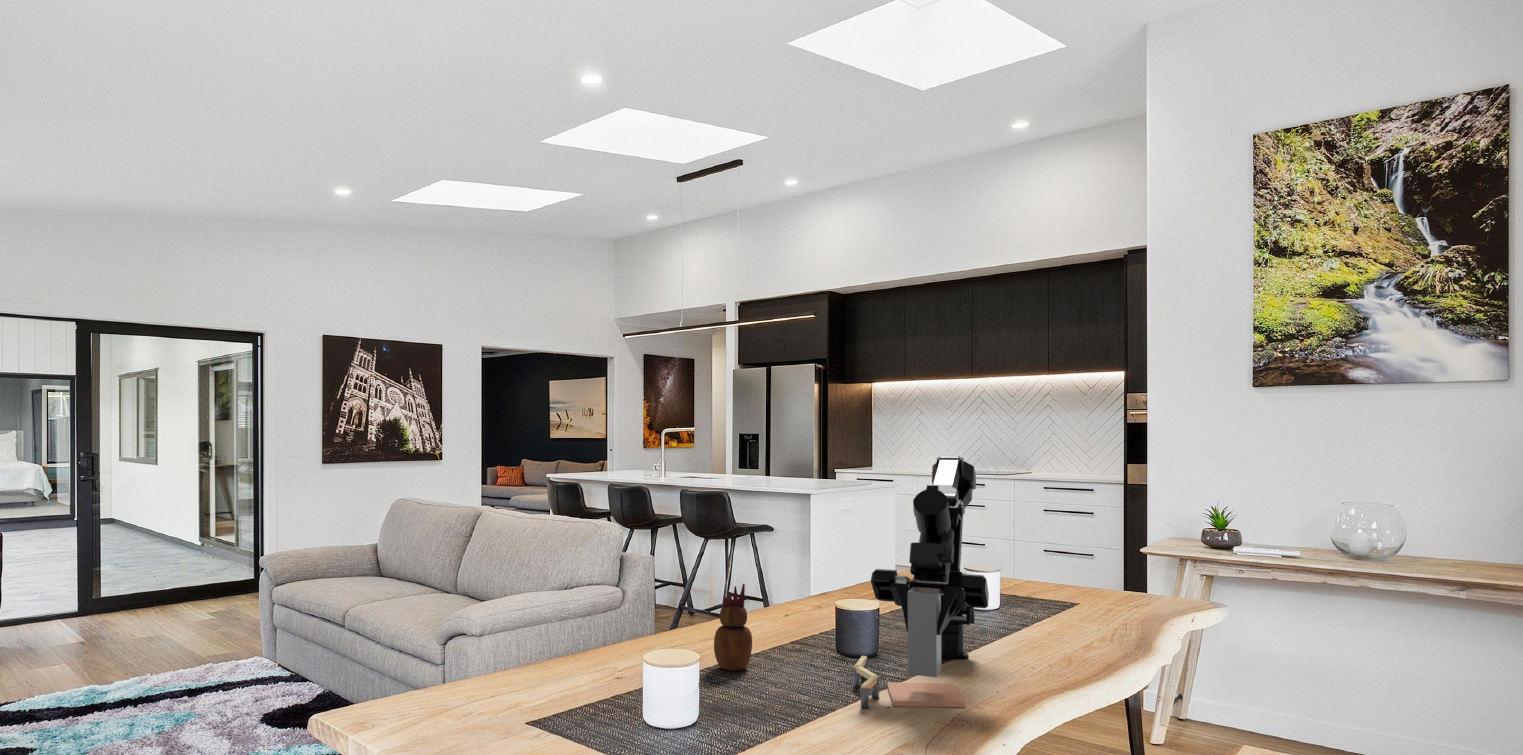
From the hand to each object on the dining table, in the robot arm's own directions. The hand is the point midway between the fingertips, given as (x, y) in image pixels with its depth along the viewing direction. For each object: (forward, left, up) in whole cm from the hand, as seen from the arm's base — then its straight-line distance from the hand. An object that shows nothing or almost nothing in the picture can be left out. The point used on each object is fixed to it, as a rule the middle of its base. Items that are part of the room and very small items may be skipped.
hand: (923, 632), depth 143 cm
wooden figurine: (-16, -32, -11) cm, 37 cm away
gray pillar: (-1, 0, -7) cm, 7 cm away
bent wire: (-4, -9, -10) cm, 14 cm away
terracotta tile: (-1, 0, -10) cm, 11 cm away
